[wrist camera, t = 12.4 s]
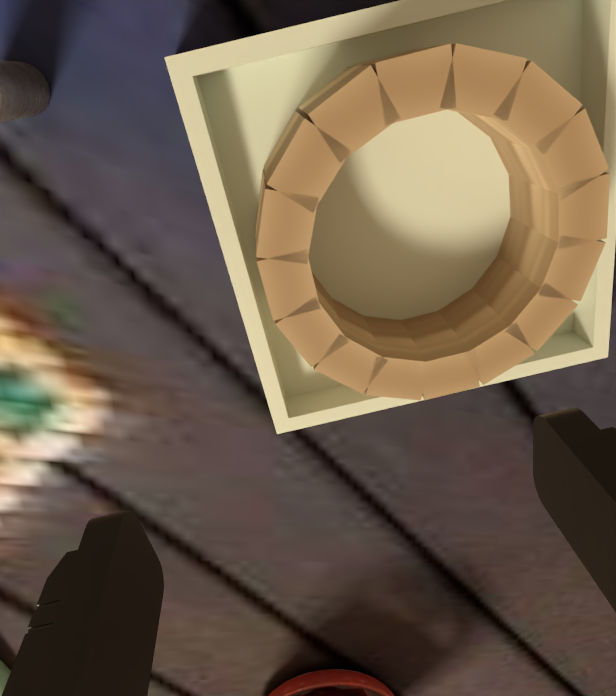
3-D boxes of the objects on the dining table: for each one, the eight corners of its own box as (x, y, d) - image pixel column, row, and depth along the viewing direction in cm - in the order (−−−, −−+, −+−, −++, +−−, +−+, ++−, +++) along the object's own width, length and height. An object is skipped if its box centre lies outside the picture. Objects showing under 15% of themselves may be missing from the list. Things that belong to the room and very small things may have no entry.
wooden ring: (219, 99, 22) (211, 104, 18) (550, 14, 22) (617, 0, 18) (296, 379, 28) (304, 429, 24) (551, 317, 28) (601, 356, 24)
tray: (173, 59, 22) (164, 57, 19) (595, -44, 21) (635, -57, 19) (275, 407, 30) (277, 434, 28) (581, 336, 30) (607, 357, 27)
